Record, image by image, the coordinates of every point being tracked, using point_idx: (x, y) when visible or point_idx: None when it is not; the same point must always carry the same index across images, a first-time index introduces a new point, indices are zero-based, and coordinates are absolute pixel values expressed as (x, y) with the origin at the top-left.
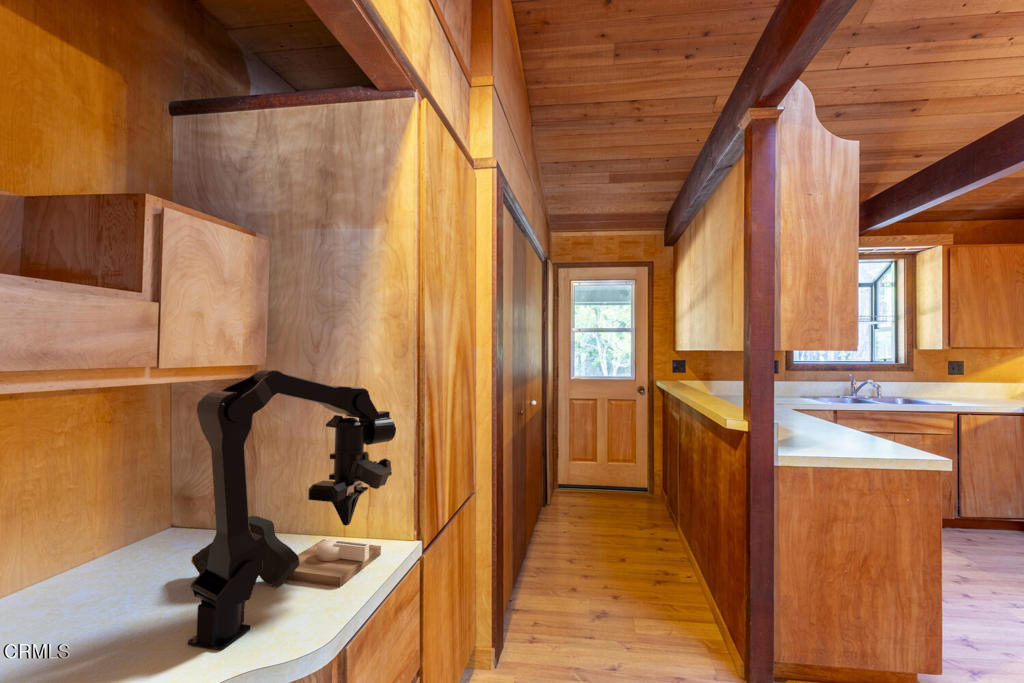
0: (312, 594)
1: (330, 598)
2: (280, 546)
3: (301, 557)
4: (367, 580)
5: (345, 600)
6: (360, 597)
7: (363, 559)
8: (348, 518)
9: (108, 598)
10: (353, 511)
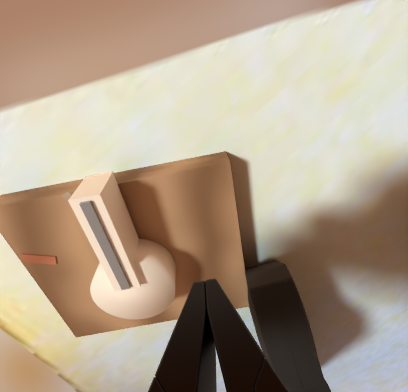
0: (280, 182)
1: (285, 130)
2: (288, 343)
3: (180, 306)
4: (156, 112)
5: (284, 83)
6: (255, 53)
7: (112, 177)
8: (231, 306)
9: (362, 379)
10: (178, 344)
